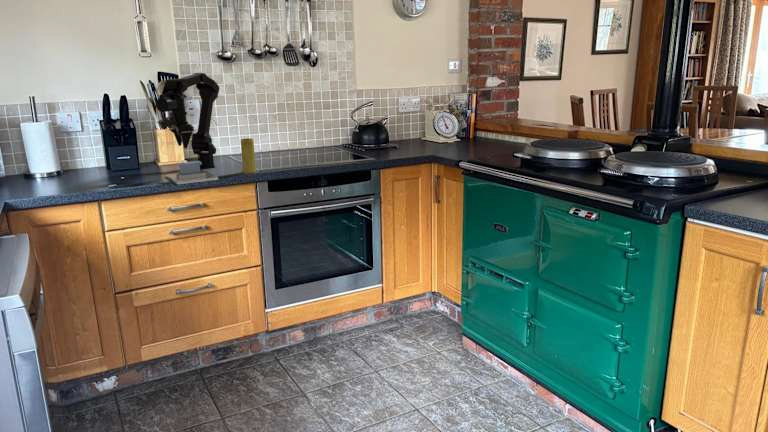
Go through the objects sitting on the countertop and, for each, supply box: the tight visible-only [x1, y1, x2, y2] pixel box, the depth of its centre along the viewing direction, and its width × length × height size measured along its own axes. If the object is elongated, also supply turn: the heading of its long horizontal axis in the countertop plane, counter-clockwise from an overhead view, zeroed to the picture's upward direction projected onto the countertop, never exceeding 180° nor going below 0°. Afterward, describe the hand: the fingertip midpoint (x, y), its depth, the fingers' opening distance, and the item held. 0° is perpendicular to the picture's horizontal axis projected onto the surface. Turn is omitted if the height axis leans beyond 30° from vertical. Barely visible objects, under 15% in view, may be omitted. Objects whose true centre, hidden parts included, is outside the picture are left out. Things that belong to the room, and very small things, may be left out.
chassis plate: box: [165, 169, 219, 185], centre depth 236 cm, size 16×20×3 cm
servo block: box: [176, 160, 202, 175], centre depth 232 cm, size 9×4×7 cm, turn 122°
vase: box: [240, 138, 258, 174], centre depth 245 cm, size 6×6×14 cm
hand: (182, 146), depth 242 cm, fingers open, 9 cm apart
